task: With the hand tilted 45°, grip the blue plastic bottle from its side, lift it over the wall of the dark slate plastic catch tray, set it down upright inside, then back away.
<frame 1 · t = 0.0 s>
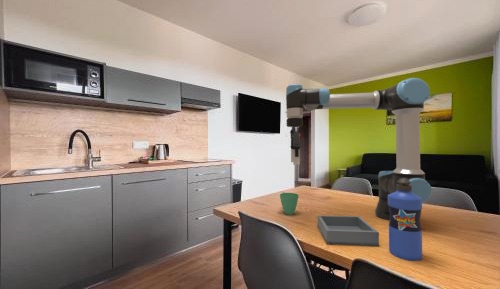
hand: (295, 163, 104), 28 cm above the table, tool pointing down, fingers open, 13 cm apart
blue plastic bottle: (405, 254, 73), on the table
catch tray: (344, 235, 89), on the table
mug: (287, 212, 121), on the table
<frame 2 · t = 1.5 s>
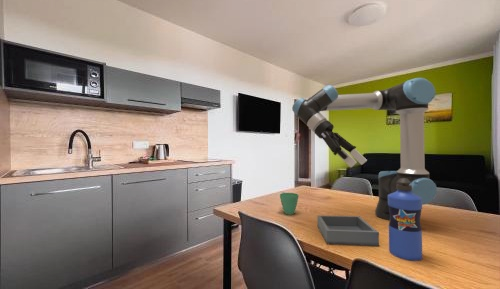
hand: (359, 163, 83), 29 cm above the table, tool tilted 45°, fingers open, 13 cm apart
nothing on the table moved.
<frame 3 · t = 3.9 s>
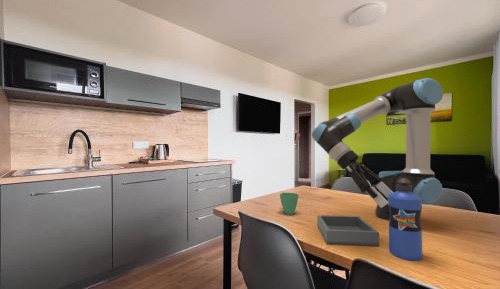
hand: (389, 201, 75), 17 cm above the table, tool tilted 45°, fingers open, 13 cm apart
nothing on the table moved.
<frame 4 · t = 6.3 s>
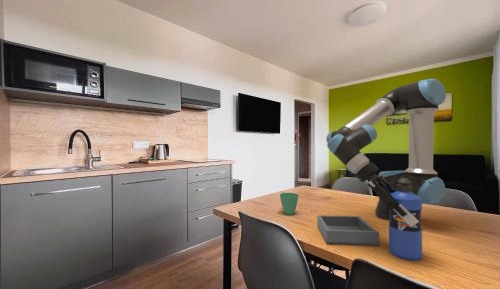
hand: (416, 219, 71), 12 cm above the table, tool tilted 45°, fingers closed on blue plastic bottle, 9 cm apart
blue plastic bottle: (405, 254, 73), on the table, touching gripper
everything else where it was.
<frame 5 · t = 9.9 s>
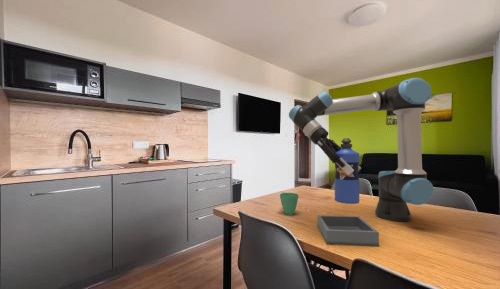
hand: (355, 171, 86), 26 cm above the table, tool tilted 45°, fingers closed on blue plastic bottle, 9 cm apart
blue plastic bottle: (346, 201, 88), point 14 cm above the table, touching gripper
everything else where it was.
when the fingers open (14 cm above the table, at t = 13.8 s): blue plastic bottle stays where it is, resting on catch tray.
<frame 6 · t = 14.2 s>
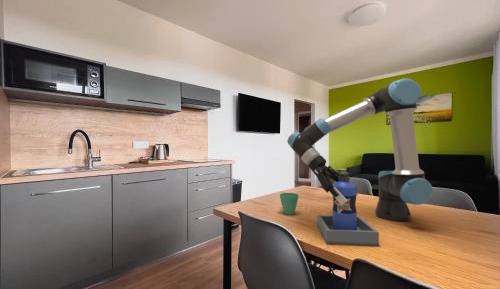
hand: (350, 199, 87), 15 cm above the table, tool tilted 45°, fingers open, 13 cm apart
blue plastic bottle: (344, 233, 89), point 1 cm above the table, touching catch tray
everything else where it was.
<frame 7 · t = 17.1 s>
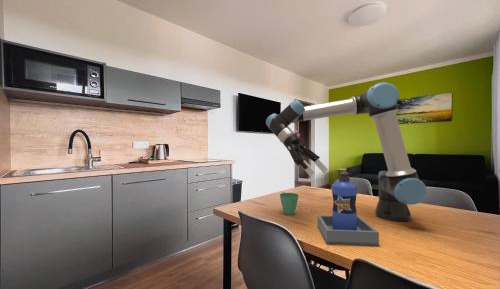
hand: (319, 172, 96), 24 cm above the table, tool tilted 45°, fingers open, 13 cm apart
nothing on the table moved.
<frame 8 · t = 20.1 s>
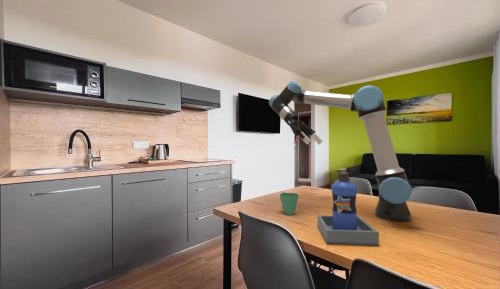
hand: (315, 142, 113), 38 cm above the table, tool tilted 45°, fingers open, 13 cm apart
nothing on the table moved.
at the end: blue plastic bottle inside the target area on the catch tray (0.1 cm from its centre), point 0.8 cm above the catch tray's base; blue plastic bottle tilted 0°; the gripper is holding nothing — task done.
